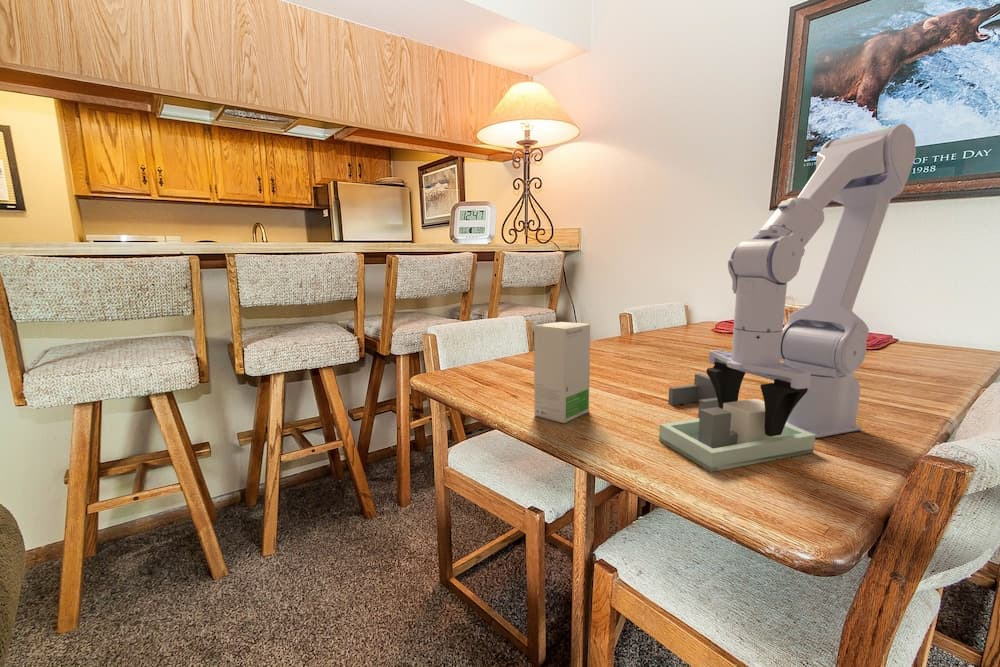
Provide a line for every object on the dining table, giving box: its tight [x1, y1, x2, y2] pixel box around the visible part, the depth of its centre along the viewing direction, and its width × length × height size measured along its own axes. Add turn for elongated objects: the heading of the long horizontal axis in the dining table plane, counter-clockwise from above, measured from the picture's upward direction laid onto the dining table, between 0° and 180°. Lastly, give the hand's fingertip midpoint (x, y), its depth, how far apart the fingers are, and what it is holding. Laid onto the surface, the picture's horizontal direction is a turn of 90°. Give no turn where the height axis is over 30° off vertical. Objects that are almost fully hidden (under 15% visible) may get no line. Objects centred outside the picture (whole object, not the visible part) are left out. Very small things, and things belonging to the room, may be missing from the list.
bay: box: [667, 373, 719, 419], centre depth 75 cm, size 6×8×5 cm
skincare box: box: [533, 321, 591, 424], centre depth 73 cm, size 8×7×16 cm
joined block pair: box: [698, 398, 782, 449], centre depth 60 cm, size 11×4×5 cm, turn 107°
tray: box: [658, 418, 816, 473], centre depth 61 cm, size 17×10×2 cm, turn 107°
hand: (749, 424), depth 61 cm, fingers open, 7 cm apart
